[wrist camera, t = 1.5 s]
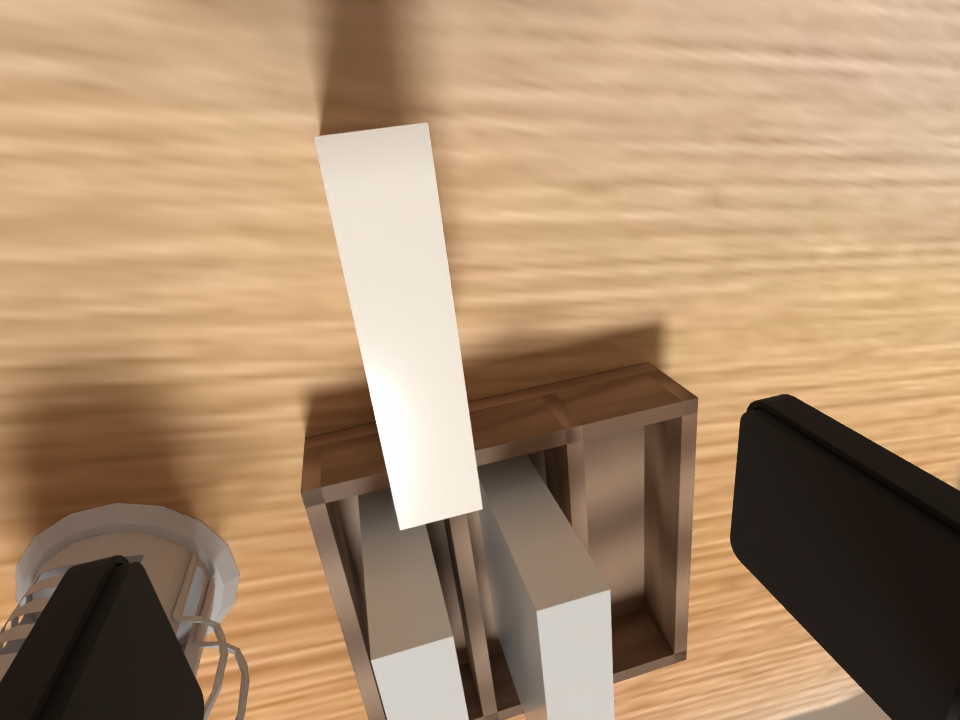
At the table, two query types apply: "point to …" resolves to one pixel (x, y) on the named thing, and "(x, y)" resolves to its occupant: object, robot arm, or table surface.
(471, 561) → the rack
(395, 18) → the table surface
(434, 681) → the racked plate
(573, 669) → the racked plate mid
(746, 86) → the table surface
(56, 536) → the french press
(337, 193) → the plate
